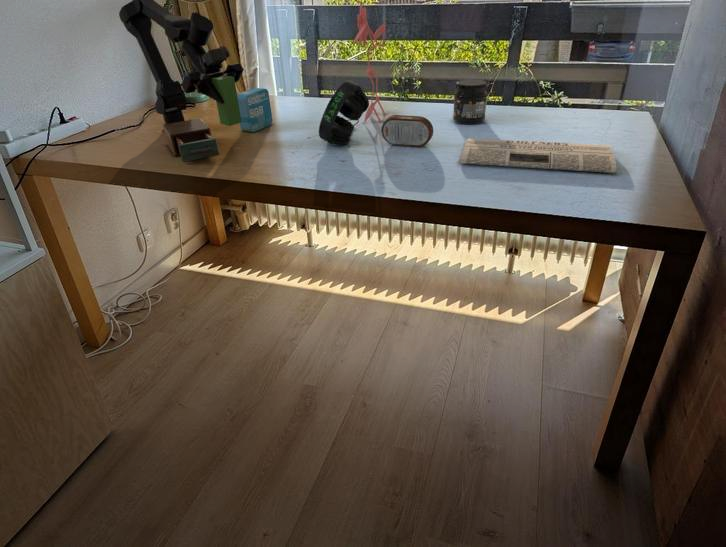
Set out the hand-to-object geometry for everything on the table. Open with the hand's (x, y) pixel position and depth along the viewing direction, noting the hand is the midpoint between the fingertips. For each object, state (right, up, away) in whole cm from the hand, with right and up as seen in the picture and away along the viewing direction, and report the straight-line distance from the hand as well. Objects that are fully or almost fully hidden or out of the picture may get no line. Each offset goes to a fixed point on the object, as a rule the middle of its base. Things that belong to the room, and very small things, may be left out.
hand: (229, 101), depth 143 cm
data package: (+3, -1, +24) cm, 24 cm away
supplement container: (+74, 0, +20) cm, 77 cm away
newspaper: (+84, -20, -12) cm, 87 cm away
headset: (+31, -10, +8) cm, 34 cm away
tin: (+52, -13, +1) cm, 53 cm away
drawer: (-9, -16, 0) cm, 18 cm away
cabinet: (-15, -11, +9) cm, 20 cm away
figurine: (+39, +4, +29) cm, 49 cm away
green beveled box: (-1, -5, +4) cm, 7 cm away
